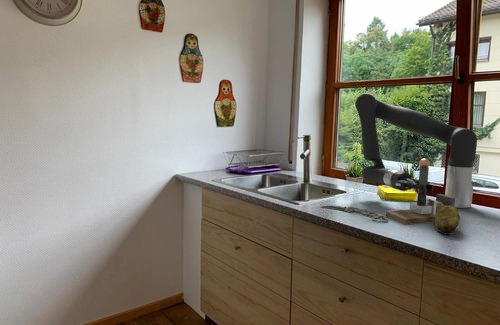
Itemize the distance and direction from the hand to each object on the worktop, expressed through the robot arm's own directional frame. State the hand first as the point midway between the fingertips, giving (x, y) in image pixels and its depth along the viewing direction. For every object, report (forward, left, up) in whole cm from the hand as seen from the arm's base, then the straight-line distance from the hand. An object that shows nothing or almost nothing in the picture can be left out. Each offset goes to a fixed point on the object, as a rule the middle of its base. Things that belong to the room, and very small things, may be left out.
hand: (428, 188), depth 131 cm
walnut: (-7, -4, -10) cm, 13 cm away
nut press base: (0, -3, -12) cm, 12 cm away
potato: (0, +12, -12) cm, 17 cm away
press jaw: (0, -3, -10) cm, 10 cm away
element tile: (-8, -37, -13) cm, 40 cm away
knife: (+22, -11, -13) cm, 28 cm away
